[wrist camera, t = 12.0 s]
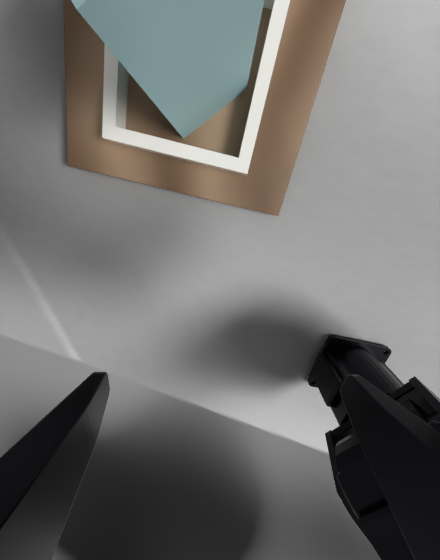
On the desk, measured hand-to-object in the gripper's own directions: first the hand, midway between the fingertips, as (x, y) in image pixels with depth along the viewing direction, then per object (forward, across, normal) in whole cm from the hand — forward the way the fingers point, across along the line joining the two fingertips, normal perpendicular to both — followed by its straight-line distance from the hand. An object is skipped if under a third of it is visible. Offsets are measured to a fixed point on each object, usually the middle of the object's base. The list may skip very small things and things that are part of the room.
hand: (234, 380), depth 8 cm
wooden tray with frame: (+14, +2, -12) cm, 19 cm away
